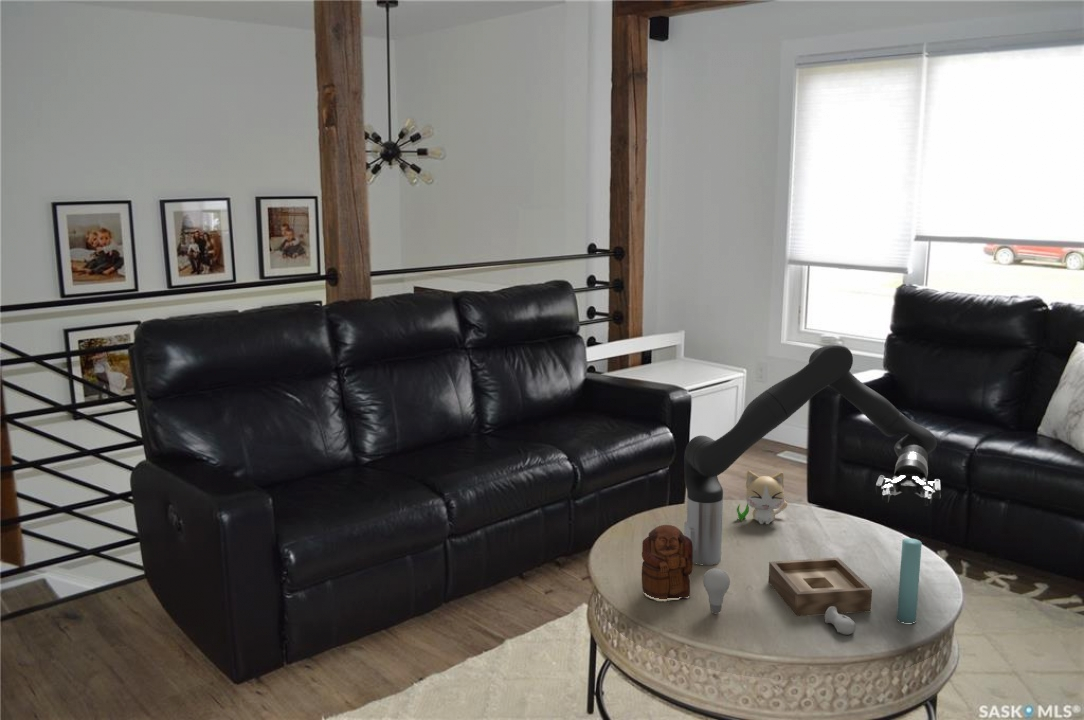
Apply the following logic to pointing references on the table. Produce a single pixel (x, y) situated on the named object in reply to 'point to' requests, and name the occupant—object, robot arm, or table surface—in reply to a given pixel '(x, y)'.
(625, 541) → the table surface
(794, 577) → the box
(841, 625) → the pale two-lobed sculpture
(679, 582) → the wooden figurine
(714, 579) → the lightbulb
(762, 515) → the kitten
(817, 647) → the table surface
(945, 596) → the table surface
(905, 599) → the peg
